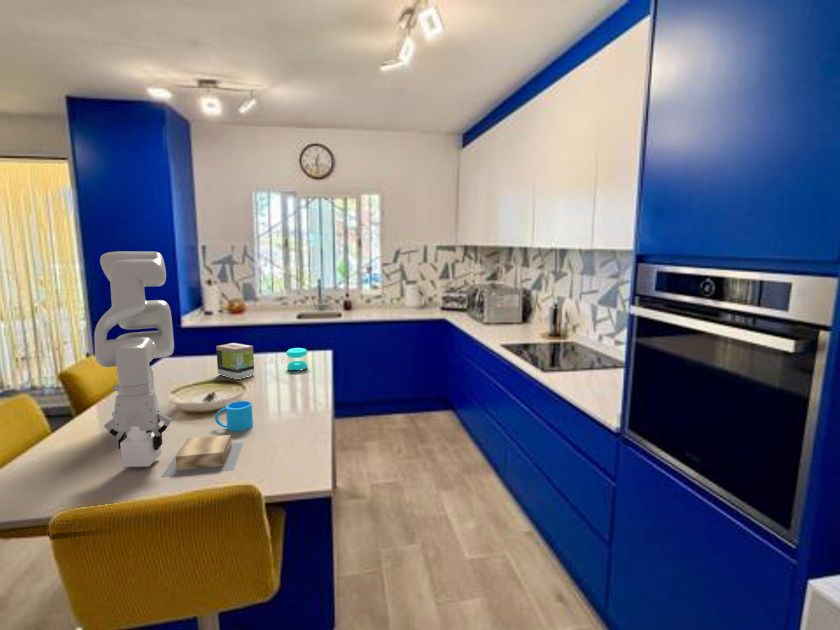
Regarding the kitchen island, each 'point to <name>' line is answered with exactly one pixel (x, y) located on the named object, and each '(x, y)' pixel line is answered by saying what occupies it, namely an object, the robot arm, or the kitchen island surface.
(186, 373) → the kitchen island surface
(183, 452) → the oak block
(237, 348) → the tea box
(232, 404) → the mug
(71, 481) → the kitchen island surface
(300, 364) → the turquoise hourglass
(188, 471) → the grey square mat
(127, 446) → the medicine bottle
